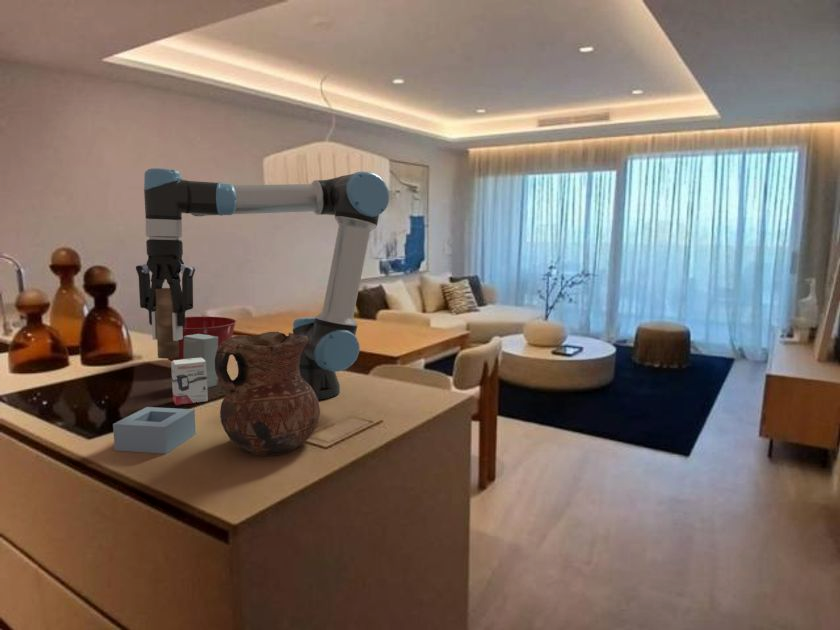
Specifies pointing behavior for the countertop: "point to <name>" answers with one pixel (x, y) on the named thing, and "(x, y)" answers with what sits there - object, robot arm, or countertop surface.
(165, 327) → the peg
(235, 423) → the jug
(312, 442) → the countertop surface
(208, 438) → the countertop surface
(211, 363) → the skincare box
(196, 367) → the ink box
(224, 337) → the mixing bowl
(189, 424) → the socket
